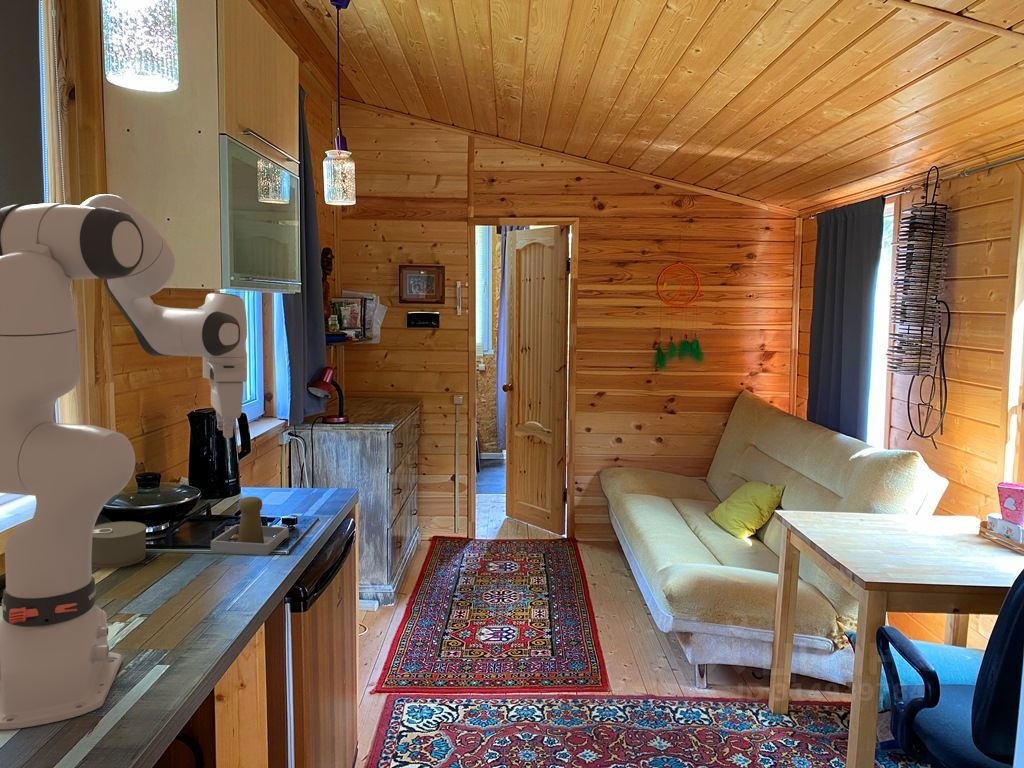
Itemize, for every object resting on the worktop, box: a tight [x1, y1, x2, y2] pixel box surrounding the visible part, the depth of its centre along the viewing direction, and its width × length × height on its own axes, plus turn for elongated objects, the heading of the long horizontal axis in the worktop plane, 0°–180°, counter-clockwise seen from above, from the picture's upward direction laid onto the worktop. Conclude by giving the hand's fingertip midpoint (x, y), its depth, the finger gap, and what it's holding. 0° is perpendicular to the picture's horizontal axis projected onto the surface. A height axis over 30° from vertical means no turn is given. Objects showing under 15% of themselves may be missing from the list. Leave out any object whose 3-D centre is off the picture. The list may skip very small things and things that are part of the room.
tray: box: [210, 523, 290, 556], centre depth 175 cm, size 13×13×3 cm
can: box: [92, 520, 147, 569], centre depth 163 cm, size 12×12×7 cm
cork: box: [237, 496, 264, 544], centre depth 175 cm, size 6×6×11 cm
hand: (224, 433), depth 160 cm, fingers open, 8 cm apart
